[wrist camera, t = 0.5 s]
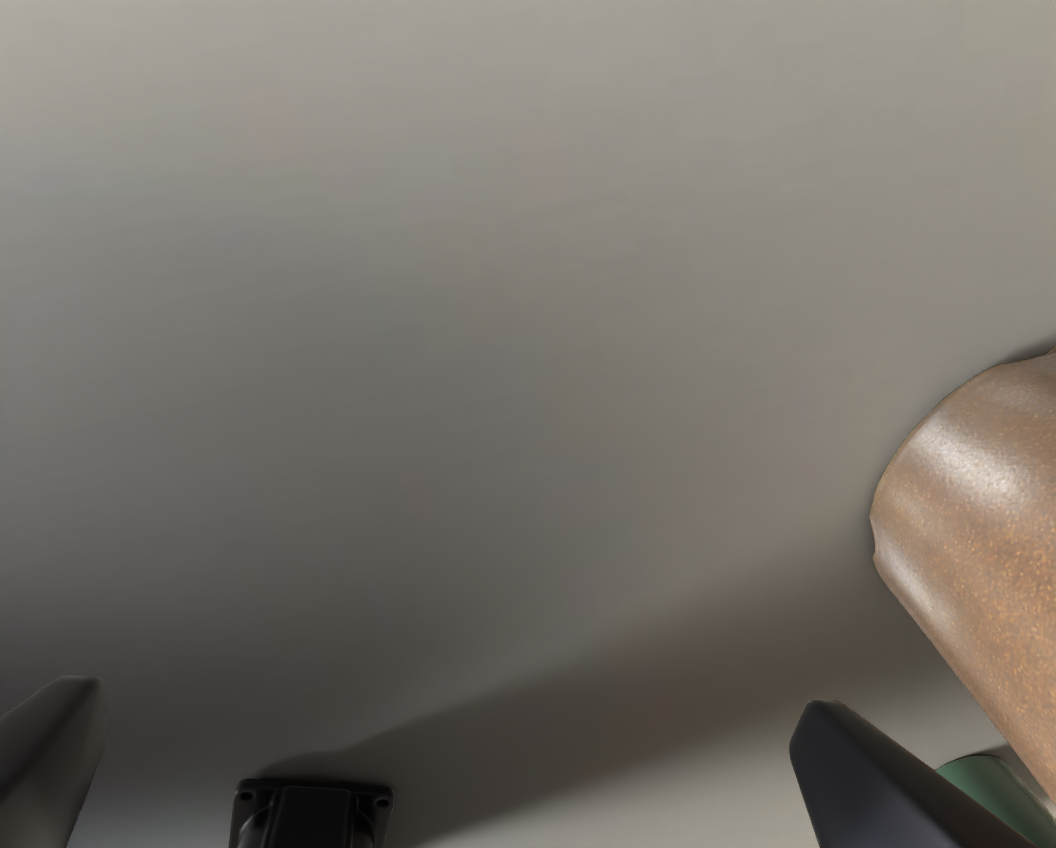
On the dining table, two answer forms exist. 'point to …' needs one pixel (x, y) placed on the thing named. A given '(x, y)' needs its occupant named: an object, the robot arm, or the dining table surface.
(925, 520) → the plant pot
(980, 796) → the jar
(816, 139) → the dining table surface
